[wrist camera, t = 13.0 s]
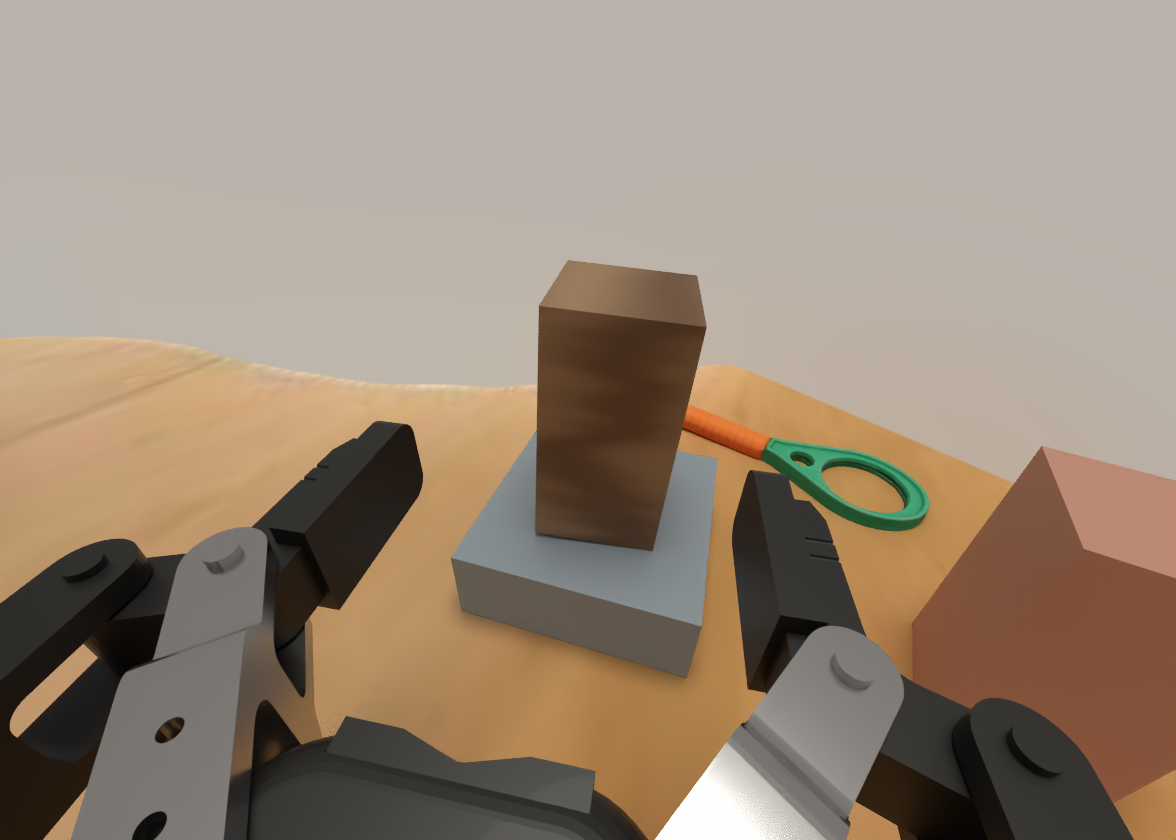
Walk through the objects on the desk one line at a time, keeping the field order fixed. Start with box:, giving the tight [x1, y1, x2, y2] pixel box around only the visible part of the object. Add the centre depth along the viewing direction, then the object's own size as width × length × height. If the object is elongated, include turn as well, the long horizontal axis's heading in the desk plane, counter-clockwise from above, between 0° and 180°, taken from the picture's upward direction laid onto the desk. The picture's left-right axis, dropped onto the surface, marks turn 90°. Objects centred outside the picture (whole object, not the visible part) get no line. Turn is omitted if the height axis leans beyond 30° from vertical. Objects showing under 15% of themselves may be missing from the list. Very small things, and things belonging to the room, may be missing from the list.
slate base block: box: [451, 430, 717, 678], centre depth 23 cm, size 10×10×4 cm
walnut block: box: [535, 260, 706, 551], centre depth 19 cm, size 5×5×10 cm
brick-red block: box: [913, 446, 1176, 803], centre depth 15 cm, size 5×5×10 cm
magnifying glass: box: [683, 406, 929, 531], centre depth 30 cm, size 15×6×2 cm, turn 54°
